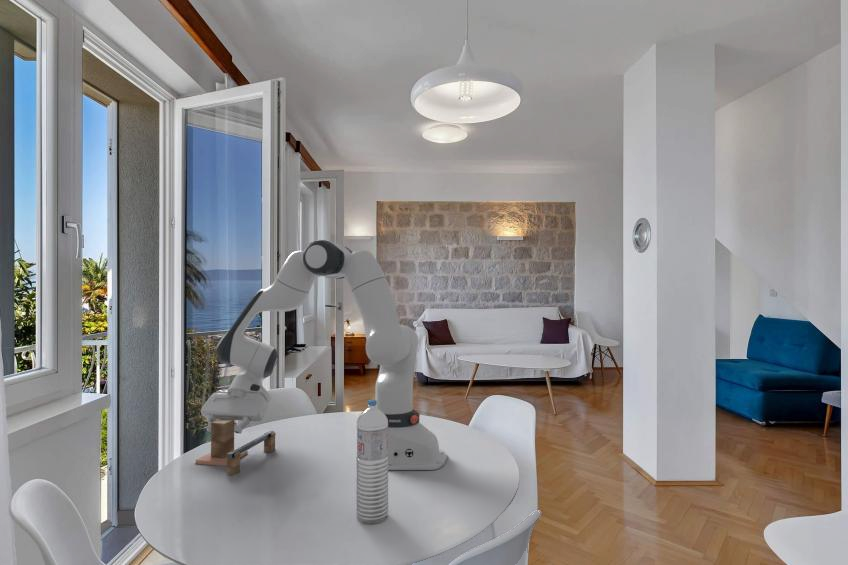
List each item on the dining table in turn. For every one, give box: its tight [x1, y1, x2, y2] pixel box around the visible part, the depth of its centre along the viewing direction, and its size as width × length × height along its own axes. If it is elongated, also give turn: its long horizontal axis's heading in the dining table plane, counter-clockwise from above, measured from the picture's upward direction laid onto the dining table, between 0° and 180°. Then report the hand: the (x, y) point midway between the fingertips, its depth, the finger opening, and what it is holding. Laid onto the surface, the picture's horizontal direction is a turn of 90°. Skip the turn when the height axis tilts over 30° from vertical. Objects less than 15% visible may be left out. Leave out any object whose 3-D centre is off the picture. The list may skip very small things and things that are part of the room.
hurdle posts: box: [226, 431, 276, 476], centre depth 130 cm, size 3×20×5 cm, turn 168°
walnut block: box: [210, 419, 235, 458], centre depth 132 cm, size 4×4×10 cm
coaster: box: [195, 450, 248, 467], centre depth 132 cm, size 10×10×1 cm
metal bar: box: [228, 430, 275, 459], centre depth 130 cm, size 1×21×1 cm, turn 168°
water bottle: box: [356, 399, 389, 525], centre depth 97 cm, size 7×7×25 cm
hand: (223, 431), depth 132 cm, fingers open, 8 cm apart
